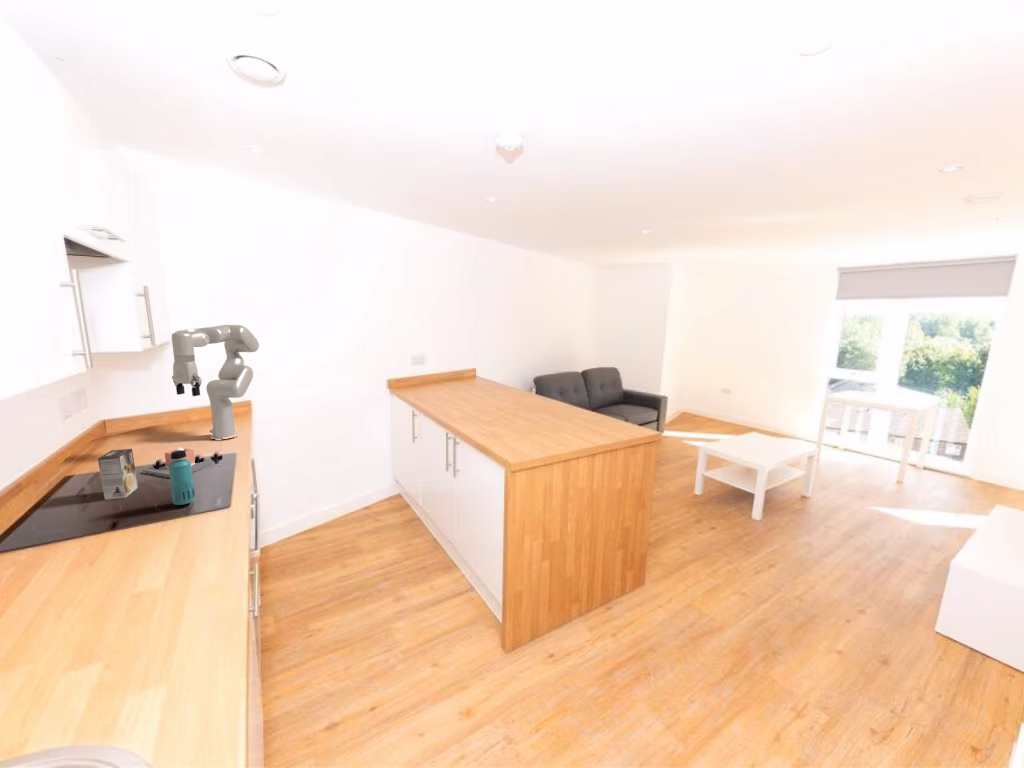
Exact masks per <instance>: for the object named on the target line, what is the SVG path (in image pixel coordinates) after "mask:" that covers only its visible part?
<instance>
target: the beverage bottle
mask: <svg viewBox="0 0 1024 768" xmlns="http://www.w3.org/2000/svg"><path fill="white" fill-rule="evenodd" d="M184 457H186V452H185V451H184V450H179V451H174V452H172V453H171V459H178V460H174V461H172V462H171V463H170V464H169V465H168V467H169V474H170V478H169V479H170V492H171V495H170V496H171V499H172V501H171V502H172V503H173V504H174V505H177V506H178V505H179V506H181V505H187V504H190V503H191V502H192V503H193V502H194V501H195V499H196V492H195V486H194V485H195V484H194V476H193V474H194V472H192V469H191V468H192V467H191V461H189V460H187V459H181V458H184Z"/></svg>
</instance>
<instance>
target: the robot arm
mask: <svg viewBox="0 0 1024 768" xmlns="http://www.w3.org/2000/svg"><path fill="white" fill-rule="evenodd" d="M171 343H172V344H171V345H172V351H173V352H172V353H173V360H174V361H173V365H172V374H173V375H172V376H171V378H172V379H171V380H172V382H173V383H174V386H175V388H176V389H175V390H176V395H185V393H186V392H185V386H184V384H185V385H188V384H189V385H190V386H191V395H192V397H198V396H201V390H200V388H201V385H202V381H203V379H202V378H201V377H200V376H199V372H198V368H197V367H198V366H197V364H196V358H195V350H194V349H195V348H203V347H206V346H207V345H211V344H219V343H223V344H224V350H225V354H226V359H225V361H224V363H223V364H222V366H221V369H220V370H219V372H218V375H217V376H218V379H213V380H210V381H208V382H207V384H206V387H205V388H206V389H205V390H206V393H207V397H208V399H209V402H210V403H209V404H210V411H211V414H210V415H211V422H212V423H211V424H212V428H211V429H210V430H209V433H212V435H210V437H209V438H212V439H223V437H229V436H232V435H234V434H235V432H236V429H235V428H236V427H235V418H234V406H233V403H232V401H231V400H230V398H231V399H233V398H234V399H235V398H236V399H237V398H241V397H243V396H244V395H245V394H246V392H247V391H248V388H249V387H250V384H251V382H252V381H253V378H254V371H253V368H252V367H251V366H249V365H245V360H244V358H243V357H242V355H241V354H240V353H255V352H257V351H258V350H259V347H260V343H259V341H258V339H257V337H255V336H254V334H253V332H251V330H249V329H248V328H247V327H246V326H244V325H242V324H220V325H217V326H216V325H215V326H210V327H209V326H208V327H199V328H190V329H189V328H187V329H180V330H177V331H175V332H172V334H171Z"/></svg>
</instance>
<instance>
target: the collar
mask: <svg viewBox="0 0 1024 768" xmlns="http://www.w3.org/2000/svg"><path fill="white" fill-rule="evenodd" d="M182 448H183V449H184V451H185V452H186V457H184V458H181V459H187V460H189V461H191V464H192V463H195V458H194V457H195V450H194V449H191V448H185V447H182ZM175 450H176V449H173V450H169V451H165V452H164V459H165V463H166V466H168V465H169V464H170V463H171V462H172V461H174V460H178V459H171V453H172V452H174V451H175Z"/></svg>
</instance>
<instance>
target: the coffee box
mask: <svg viewBox="0 0 1024 768" xmlns="http://www.w3.org/2000/svg"><path fill="white" fill-rule="evenodd" d="M134 459H135V458H134V453H133V448H128V449H127V448H124V449H112V450H110V451H108V452H107V453H105V454H103V455H101V456H100V457H98V458H97V461H98V466H99V467H98V468H99V472H100V478H101V485H102V486H101V487H102V491H103V497H104V500H108V501H109V500H115V499H116V500H117V499H123V498H128V497H129V495H131V494H132V493H134V491H136V490H137V489H138V488H139V487H138V486H139V485H138V480H137V475H136V474H137V473H136V468H135V467H136V466H135V460H134Z"/></svg>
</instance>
